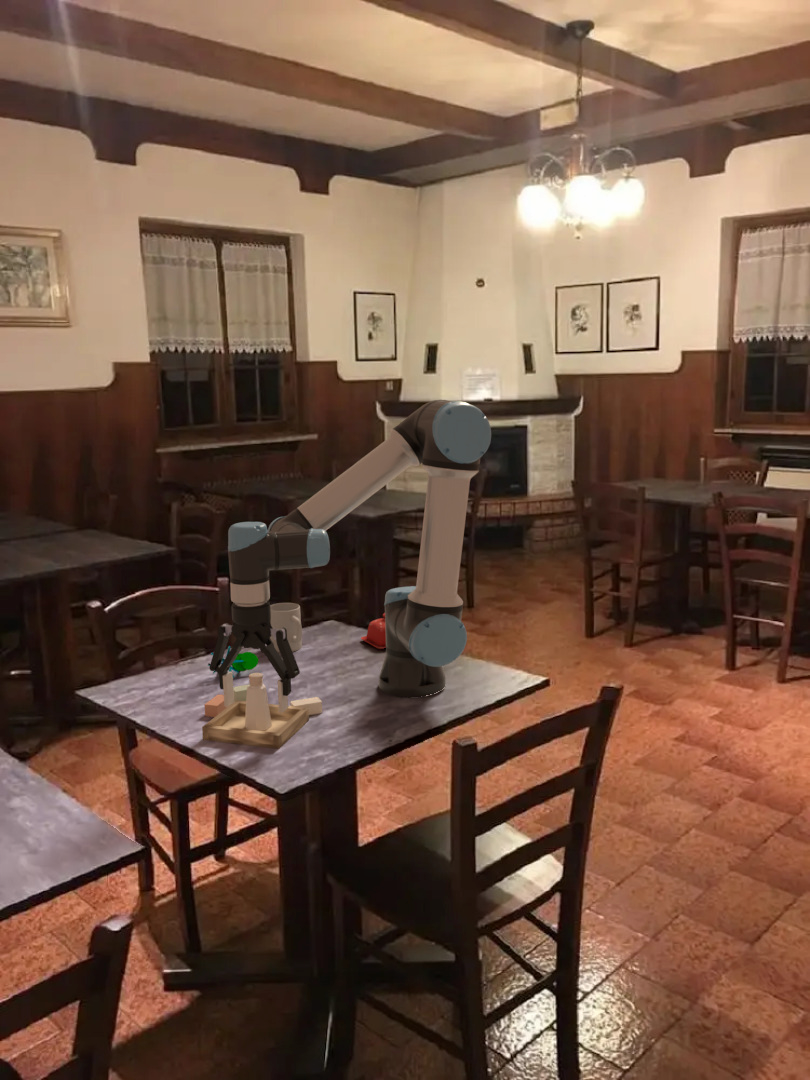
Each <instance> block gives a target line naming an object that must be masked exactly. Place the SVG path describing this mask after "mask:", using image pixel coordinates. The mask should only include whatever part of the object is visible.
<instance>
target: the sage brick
mask: <svg viewBox="0 0 810 1080" xmlns="http://www.w3.org/2000/svg"><path fill="white" fill-rule="evenodd" d="M248 686H250V683H249V684H244V685H239V686H233V691H234V702H235V701H246V695H247V687H248Z"/></svg>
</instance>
